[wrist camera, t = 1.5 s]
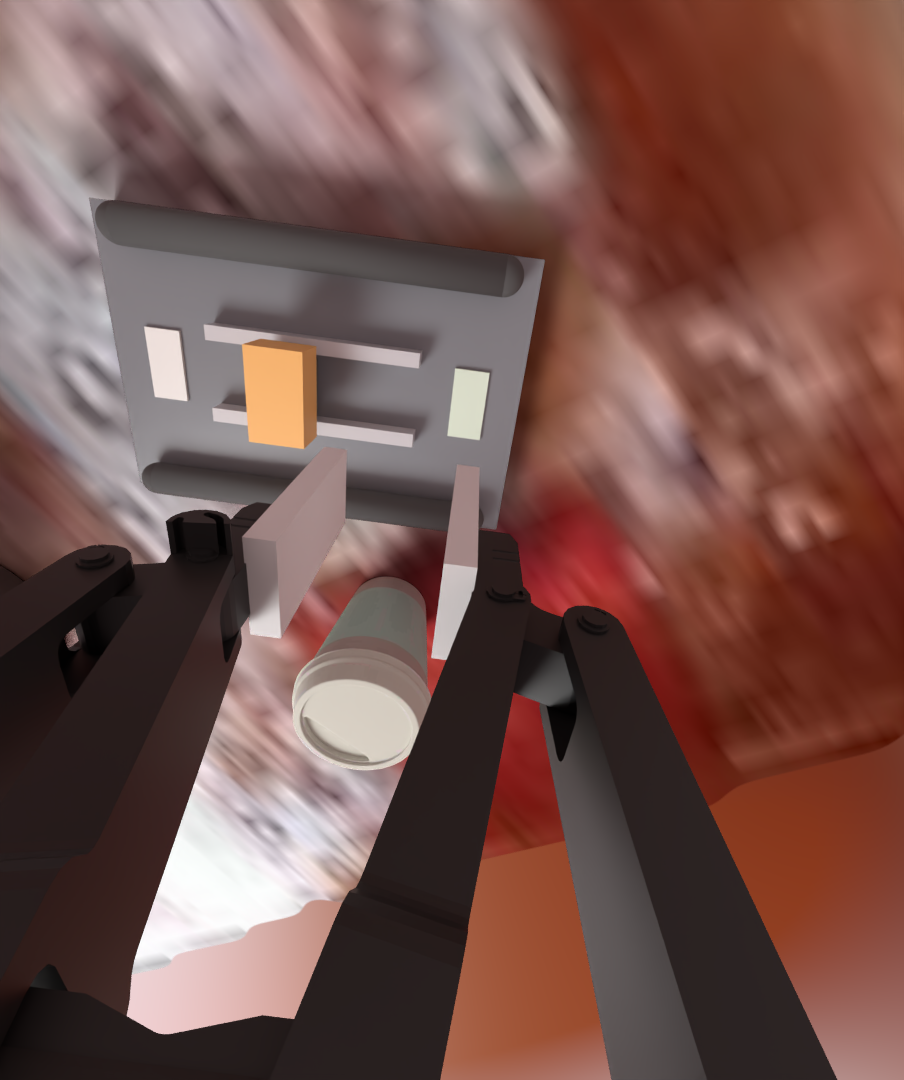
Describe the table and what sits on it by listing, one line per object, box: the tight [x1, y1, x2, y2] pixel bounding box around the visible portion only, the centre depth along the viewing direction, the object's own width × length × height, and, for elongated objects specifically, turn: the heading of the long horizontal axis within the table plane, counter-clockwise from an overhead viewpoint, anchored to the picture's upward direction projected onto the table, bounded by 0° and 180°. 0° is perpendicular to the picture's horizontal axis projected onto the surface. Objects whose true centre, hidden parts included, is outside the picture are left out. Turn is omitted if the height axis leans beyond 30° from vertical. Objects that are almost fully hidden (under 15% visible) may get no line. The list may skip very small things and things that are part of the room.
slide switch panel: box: [89, 198, 545, 530], centre depth 31 cm, size 24×16×3 cm, turn 83°
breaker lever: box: [242, 339, 318, 449], centre depth 28 cm, size 3×5×4 cm, turn 173°
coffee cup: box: [292, 577, 431, 770], centre depth 35 cm, size 8×9×12 cm
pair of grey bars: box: [95, 200, 524, 532], centre depth 29 cm, size 22×16×2 cm
